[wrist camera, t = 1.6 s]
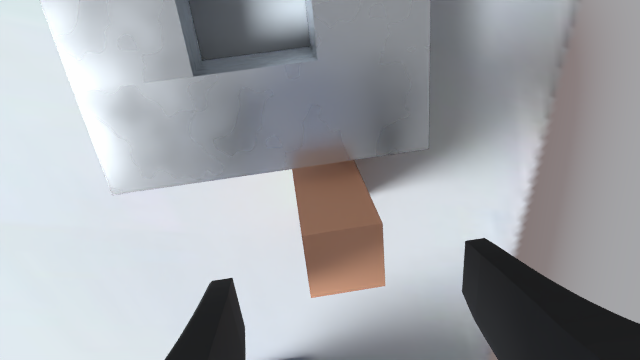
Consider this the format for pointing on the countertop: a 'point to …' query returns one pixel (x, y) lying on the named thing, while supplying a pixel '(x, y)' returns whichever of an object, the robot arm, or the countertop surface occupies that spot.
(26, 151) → the countertop surface
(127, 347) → the countertop surface
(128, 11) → the grey square base
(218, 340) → the robot arm
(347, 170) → the pin
